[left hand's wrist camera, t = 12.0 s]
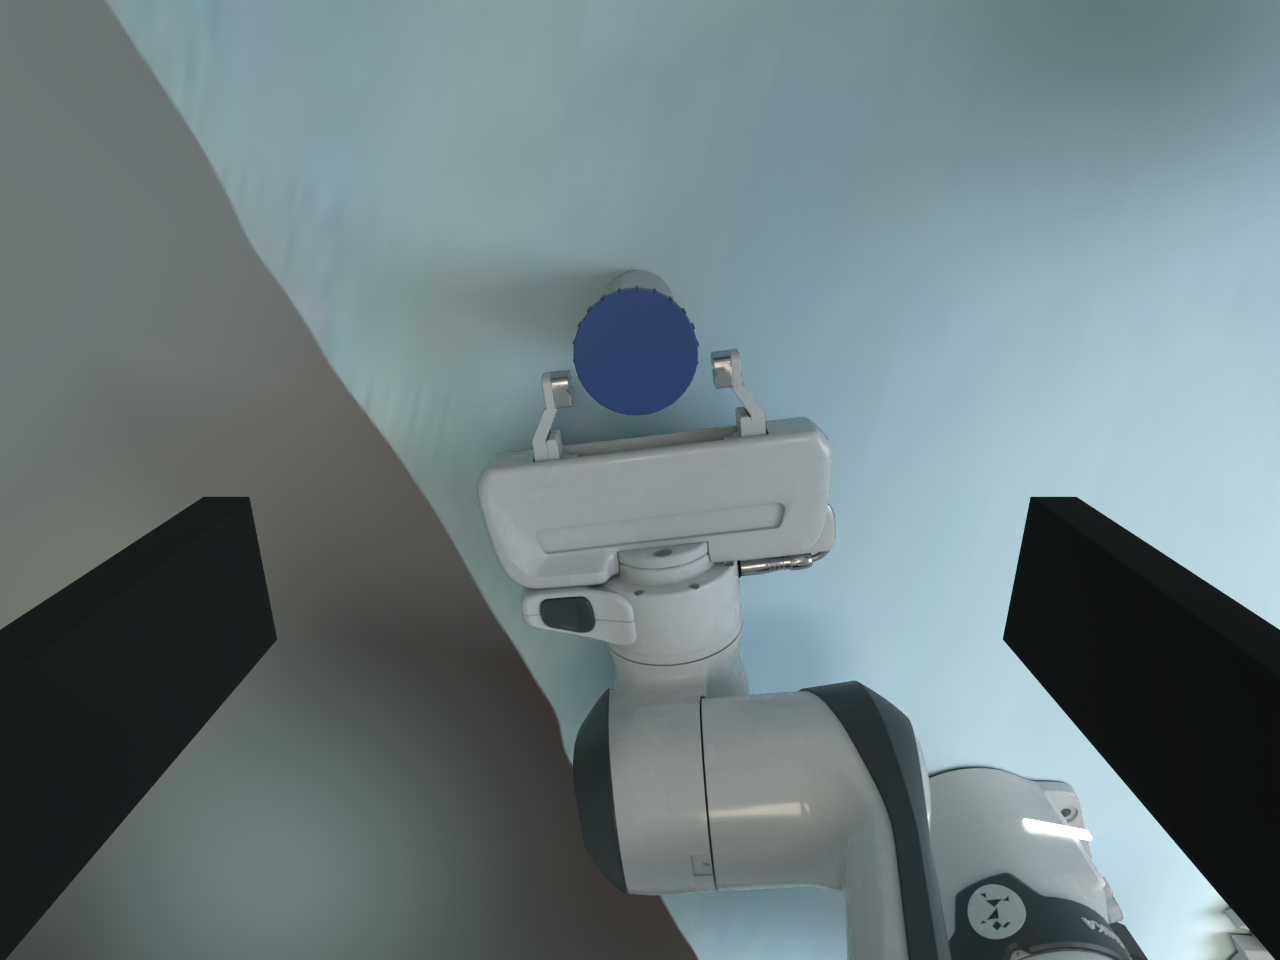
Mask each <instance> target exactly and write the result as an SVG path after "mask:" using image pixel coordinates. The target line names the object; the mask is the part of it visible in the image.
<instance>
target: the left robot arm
mask: <svg viewBox="0 0 1280 960" xmlns="http://www.w3.org/2000/svg"><path fill="white" fill-rule="evenodd" d="M276 640H277V636H276V631H275V626H274V621H273V616H272V611H271V606H270V601H269V595H268V590H267V585H266V580H265V575H264V570H263V565H262V560H261V555H260V549H259V544H258V539H257V534H256V529H255V524H254V519H253V514H252V509H251V503H250V498H249V497H203V498H201V499H200V500H198V501H197V502H195V503H194V504H192V505H191V506H189V507H188V508H186V509H184V510H183V511H181V512H180V513H178V514H177V515H175V516H174V517H172V518H171V519H169V520H168V521H166V522H165V523H163V524H161V525H160V526H158V527H157V528H155V529H154V530H152V531H151V532H149V533H148V534H146V535H145V536H143V537H142V538H140V539H139V540H137V541H135V542H134V543H132V544H131V545H129V546H128V547H126V548H125V549H123V550H122V551H120V552H119V553H117V554H116V555H114V556H113V557H111V558H109V559H108V560H106V561H105V562H103V563H102V564H100V565H99V566H97V567H96V568H94V569H93V570H91V571H90V572H88V573H87V574H85V575H84V576H82V577H80V578H79V579H77V580H76V581H74V582H73V583H71V584H70V585H68V586H67V587H65V588H64V589H62V590H61V591H59V592H58V593H56V594H54V595H53V596H51V597H50V598H48V599H47V600H45V601H44V602H42V603H41V604H39V605H38V606H36V607H35V608H33V609H31V610H30V611H28V612H27V613H25V614H24V615H22V616H21V617H19V618H18V619H16V620H15V621H13V622H12V623H10V624H8V625H7V626H5V627H4V628H2V629H1V630H0V960H5V959H6V958H7V957H8V956H9V955H10V953H11V952H12V951H13V950H14V949H15V948H16V946H17V945H18V944H19V943H20V942H21V940H22V939H23V938H24V937H25V936H26V935H27V933H28V932H29V931H30V930H31V929H32V927H33V926H34V925H35V924H36V923H37V922H38V920H39V919H40V918H41V917H42V916H43V914H44V913H45V912H46V911H47V910H48V909H49V907H50V906H51V905H52V904H53V903H54V901H55V900H56V899H57V898H58V897H59V896H60V894H61V893H62V892H63V891H64V890H65V889H66V887H67V886H68V885H69V884H70V883H71V881H72V880H73V879H74V878H75V877H76V876H77V874H78V873H79V872H80V871H81V870H82V868H83V867H84V866H85V865H86V864H87V863H88V861H89V860H90V859H91V858H92V857H93V856H94V854H95V853H96V852H97V851H98V850H99V848H100V847H101V846H102V845H103V844H104V843H105V841H106V840H107V839H108V838H109V837H110V836H111V834H112V833H113V832H114V831H115V830H116V828H117V827H118V826H119V825H120V824H121V823H122V821H123V820H124V819H125V818H126V817H127V816H128V814H129V813H130V812H131V811H132V810H133V808H134V807H135V806H136V805H137V804H138V802H139V801H140V800H141V799H142V798H143V797H144V795H145V794H146V793H147V792H148V791H149V790H150V788H151V787H152V786H153V785H154V784H155V782H156V781H157V780H158V779H159V778H160V777H161V775H162V774H163V773H164V772H165V771H166V770H167V768H168V767H169V766H170V765H171V764H172V762H173V761H174V760H175V759H176V758H177V757H178V755H179V754H180V753H181V752H182V751H183V749H184V748H185V747H186V746H187V745H188V744H189V742H190V741H191V740H192V739H193V738H194V737H195V735H196V734H197V733H198V732H199V731H200V730H201V728H202V727H203V726H204V725H205V724H206V722H207V721H208V720H209V719H210V718H211V717H212V715H213V714H214V713H215V712H216V711H217V709H218V708H219V707H220V706H221V705H222V703H223V702H224V701H225V700H226V699H227V698H228V697H229V695H230V694H231V693H232V692H233V691H234V689H235V688H236V687H237V686H238V685H239V684H240V682H241V681H242V680H243V679H244V678H245V676H246V675H247V674H248V673H249V672H250V670H251V669H252V668H253V667H254V666H255V665H256V664H257V662H258V661H259V660H260V659H261V658H262V656H263V655H264V654H265V653H266V652H267V651H268V649H269V648H270V647H271V646H272V645H273V643H274V642H275V641H276ZM1003 640H1004V641H1005V642H1006V644H1007V645H1008V646H1009V647H1010V648H1011V649H1012V651H1013V652H1014V653H1015V654H1016V655H1017V656H1018V658H1019V659H1020V660H1021V661H1022V662H1023V664H1024V665H1025V666H1026V667H1027V668H1028V669H1029V671H1030V672H1031V673H1032V674H1033V675H1034V677H1035V678H1036V679H1037V680H1038V681H1039V682H1040V684H1041V685H1042V686H1043V687H1044V688H1045V689H1046V691H1047V692H1048V693H1049V694H1050V695H1051V697H1052V698H1053V699H1054V700H1055V701H1056V702H1057V704H1058V705H1059V706H1060V707H1061V708H1062V710H1063V711H1064V712H1065V713H1066V714H1067V715H1068V717H1069V718H1070V719H1071V720H1072V721H1073V722H1074V724H1075V725H1076V726H1077V727H1078V728H1079V730H1080V731H1081V732H1082V733H1083V734H1084V735H1085V737H1086V738H1087V739H1088V740H1089V741H1090V742H1091V744H1092V745H1093V746H1094V747H1095V748H1096V750H1097V751H1098V752H1099V753H1100V754H1101V755H1102V757H1103V758H1104V759H1105V760H1106V761H1107V763H1108V764H1109V765H1110V766H1111V767H1112V768H1113V770H1114V771H1115V772H1116V773H1117V774H1118V775H1119V777H1120V778H1121V779H1122V780H1123V781H1124V783H1125V784H1126V785H1127V786H1128V787H1129V788H1130V790H1131V791H1132V792H1133V793H1134V794H1135V796H1136V797H1137V798H1138V799H1139V800H1140V801H1141V803H1142V804H1143V805H1144V806H1145V807H1146V808H1147V810H1148V811H1149V812H1150V813H1151V814H1152V816H1153V817H1154V818H1155V819H1156V820H1157V821H1158V823H1159V824H1160V825H1161V826H1162V827H1163V829H1164V830H1165V831H1166V832H1167V833H1168V834H1169V836H1170V837H1171V838H1172V839H1173V840H1174V841H1175V843H1176V844H1177V845H1178V846H1179V847H1180V849H1181V850H1182V851H1183V852H1184V853H1185V854H1186V856H1187V857H1188V858H1189V859H1190V860H1191V862H1192V863H1193V864H1194V865H1195V866H1196V867H1197V869H1198V870H1199V871H1200V872H1201V873H1202V874H1203V876H1204V877H1205V878H1206V879H1207V880H1208V882H1209V883H1210V884H1211V885H1212V886H1213V887H1214V889H1215V890H1216V891H1217V892H1218V893H1219V895H1220V896H1221V897H1222V898H1223V899H1224V900H1225V902H1226V903H1227V904H1228V905H1229V906H1230V907H1231V909H1232V910H1233V911H1234V912H1235V913H1236V915H1237V916H1238V917H1239V918H1240V919H1241V920H1242V922H1243V923H1244V924H1245V925H1246V926H1247V928H1248V929H1249V930H1250V931H1251V932H1252V933H1253V935H1254V936H1255V937H1256V938H1257V939H1258V940H1259V942H1260V943H1261V944H1262V945H1263V946H1264V948H1265V949H1266V950H1267V951H1268V952H1269V953H1270V955H1271V956H1272V957H1273V958H1274V959H1275V960H1280V630H1279V629H1278V628H1276V627H1275V626H1273V625H1271V624H1270V623H1268V622H1267V621H1265V620H1264V619H1262V618H1261V617H1259V616H1258V615H1256V614H1255V613H1253V612H1252V611H1250V610H1249V609H1247V608H1245V607H1244V606H1242V605H1241V604H1239V603H1238V602H1236V601H1235V600H1233V599H1232V598H1230V597H1229V596H1227V595H1226V594H1224V593H1223V592H1221V591H1219V590H1218V589H1216V588H1215V587H1213V586H1212V585H1210V584H1209V583H1207V582H1206V581H1204V580H1203V579H1201V578H1200V577H1198V576H1197V575H1195V574H1193V573H1192V572H1190V571H1189V570H1187V569H1186V568H1184V567H1183V566H1181V565H1180V564H1178V563H1177V562H1175V561H1174V560H1172V559H1171V558H1169V557H1167V556H1166V555H1164V554H1163V553H1161V552H1160V551H1158V550H1157V549H1155V548H1154V547H1152V546H1151V545H1149V544H1148V543H1146V542H1145V541H1143V540H1141V539H1140V538H1138V537H1137V536H1135V535H1134V534H1132V533H1131V532H1129V531H1128V530H1126V529H1125V528H1123V527H1122V526H1120V525H1119V524H1117V523H1115V522H1114V521H1112V520H1111V519H1109V518H1108V517H1106V516H1105V515H1103V514H1102V513H1100V512H1099V511H1097V510H1096V509H1094V508H1093V507H1091V506H1089V505H1088V504H1086V503H1085V502H1083V501H1082V500H1080V499H1079V498H1077V497H1031V498H1030V503H1029V508H1028V513H1027V519H1026V524H1025V529H1024V534H1023V539H1022V544H1021V549H1020V554H1019V560H1018V565H1017V570H1016V575H1015V580H1014V585H1013V590H1012V595H1011V600H1010V606H1009V611H1008V616H1007V621H1006V626H1005V631H1004V636H1003Z"/></svg>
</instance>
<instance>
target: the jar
mask: <svg viewBox="0 0 1280 960" xmlns="http://www.w3.org/2000/svg"><path fill="white" fill-rule="evenodd" d="M636 285H637V286H638V287H639V288H647V289H652V290H653V289H654V288H655V289H656V291H658V292H660V293H662V294H664V295H666V296H668V297H669V296H671V297H672V294H671V292H670V290H669V288H668V286H667V285H666V283H665V282H664V281H663V280H662V279H661V278H660V277H658V276H657V275H655V274H653V273H651V272H648V271H644V270H632V271H628V272H625V273H623V274H621V275H619V276H618V277H616V278H615V279H614V280H613V281H612V282H611V283H610V284H609V286H608V287H607V289H606V291H605V294H604V295H605V296H606V295H608V294H610V293H612V292H614V291H617V290H618V288H621V289H625V288H633V287H636ZM672 299H673V297H672ZM673 301H674V300H673Z"/></svg>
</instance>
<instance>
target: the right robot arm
mask: <svg viewBox="0 0 1280 960" xmlns="http://www.w3.org/2000/svg"><path fill="white" fill-rule="evenodd" d="M711 363H712V365H713V367H714V368H713V370H712V375H713V382H714V384H715V387H716V388H726V387H731V389H732V390H733V392H734V393H735V394H736V396H737V397H738V399H739V400H740V401H741V403H742V404H743V406H744V407H745V408H746V409H745V408H744V407H738V408H737V409H736V422H737V425H732V426H723V427H715V428H707V429H698V430H690V431H682V432H673V433H665V434H656V435H648V436H640V437H631V438H623V439H615V440H606V441H598V442H590V443H581V444H573V445H564V446H563V444H562V439H561V433H560V430H558V429H556V430H552V431H551V432H550V428H551V425H552V423H553V420H554V418H555V415H556V412H557V410H558V408H562V407H569V406H572V404H573V401H574V392H573V387H572V386H571V385H570V382H571V380H572V379H571V374H570V371H569V370H564V371H555V372H547V373H544V374H543V375H542V389H543V394H544V400H545V406H546V407H545V409H544V411H543V414H542V416H541V419H540V422H539V424H538V427H537V429H536V432H535V435H534V437H533V440H532V446H533V449H531V450H523V451H515V452H506V453H499V454H496V455H495V456H493V457H492V458H491V460H490V461H489V462H488V464H487V465H486V466H485V468H484V469H483V471H482V473H481V475H480V477H479V480H478V483H477V494H478V499H479V503H480V507H481V511H482V515H483V519H484V522H485V525H486V529H487V532H488V535H489V538H490V541H491V543H492V546H493V549H494V551H495V554H496V556H497V559H498V561H499V563H500V565H501V567H502V569H503V570H504V572H505V573H506V574H507V576H508V577H509V578H510V579H511V580H513V581H514V582H515V583H517V584H519V585H521V586H523V589H522V597H521V611H522V616H523V619H524V621H525V622H526V624H528V625H529V626H531V627H534V628H537V629H542V630H548V631H555V632H561V633H567V634H572V635H578V636H582V637H587V638H592V639H596V640H600V641H604V642H605V643H606V646H607V648H608V650H609V652H610V654H611V656H612V659H613V661H614V665H615V678H614V684H613V688H612V689H608V690H606V691H605V693H604V694H603V695H602V696H601V697H600V698H599V700H598V701H597V702H596V704H595V705H594V707H593V709H592V710H591V712H590V713H589V715H588V716H587V718H586V719H585V721H584V722H583V724H582V725H581V727H580V730H579V732H578V735H577V738H576V742H575V747H574V757H573V775H574V785H575V793H576V800H577V806H578V811H579V817H580V823H581V828H582V833H583V838H584V843H585V848H586V851H587V852H588V854H589V855H590V856H591V858H592V859H593V861H594V862H595V863H596V865H597V866H598V867H599V869H600V870H601V871H602V872H603V874H604V875H605V876H606V877H607V878H608V879H609V880H610V881H611V882H612V883H613V884H614V885H615V886H616V887H617V888H619V889H620V890H621V891H623V892H624V893H626V894H627V895H629V894H639V895H673V894H695V893H714V892H717V889H718V891H731V890H753V889H775V888H797V887H814V888H822V889H827V890H831V891H834V892H837V893H840V894H842V895H844V896H845V899H846V930H847V960H1148V959H1147V958H1146V956H1145V955H1144V953H1143V952H1142V950H1141V949H1140V947H1139V946H1138V944H1137V943H1136V941H1135V940H1134V938H1133V937H1132V935H1131V934H1130V932H1129V931H1128V929H1127V928H1126V926H1125V925H1123V924H1120V923H1118V922H1119V921H1122V919H1123V914H1122V912H1121V909H1120V907H1119V905H1118V903H1117V901H1116V900H1115V898H1114V896H1113V892H1112V890H1111V888H1110V886H1109V884H1108V882H1107V881H1106V879H1105V878H1104V877H1102V875H1101V874H1100V872H1099V870H1098V869H1097V867H1096V866H1095V864H1094V863H1093V861H1092V857H1091V853H1090V848H1089V844H1088V841H1091V840H1092V836H1091V835H1090V834H1089V832H1088V831H1087V830H1085V826H1084V821H1083V817H1082V812H1081V808H1080V803H1079V799H1078V797H1077V795H1076V793H1075V792H1074V790H1073V788H1072V787H1071V786H1070V785H1068V784H1066V783H1062V782H1045V781H1043V782H1035V781H1031V780H1028V779H1025V778H1022V777H1020V776H1017V775H1015V774H1012V773H1009V772H1006V771H1002V770H996V769H989V768H968V769H960V770H954V771H950V772H946V773H943V774H939V775H937V776H934V777H931V778H929V777H928V771H927V766H926V762H925V758H924V755H923V751H922V748H921V746H920V743H919V741H918V738H917V736H916V734H915V732H914V731H913V728H912V725H911V722H910V720H909V718H908V717H907V716H905V715H904V714H903V713H902V712H901V711H900V710H899V709H898V708H896V707H895V706H894V705H893V704H891V703H890V702H889V701H887V700H886V699H885V698H883V697H882V696H880V695H879V694H877V693H876V692H874V691H873V690H871V689H869V688H868V687H866V686H864V685H863V684H861V683H859V682H857V681H849V682H843V683H837V684H830V685H824V686H818V687H811V688H805V689H801V690H799V691H798V692H783V693H769V694H755V695H749V686H748V677H747V673H746V670H745V667H744V665H743V663H742V660H741V658H740V654H739V646H740V641H741V638H742V633H743V619H742V607H741V596H740V583H739V578H740V576H749V575H757V574H765V573H770V572H774V571H778V570H787V569H790V570H801V569H806V568H809V567H812V564H813V562H814V561H817V560H819V559H821V558H823V557H824V556H825V555H827V553H828V552H829V551H830V550H831V549H832V548H833V546H834V543H835V537H836V536H835V515H834V512H833V509H832V508H831V506H830V505H829V504H828V501H829V492H830V482H831V463H832V451H831V444H830V441H829V439H828V437H827V436H826V434H825V433H824V432H823V431H822V430H821V429H820V428H819V427H818V426H817V425H816V424H815V423H814V422H812V421H811V420H810V419H808V418H806V417H799V418H790V419H782V420H774V421H765V414H764V412H763V410H762V409H761V407H760V405H759V404H758V402H757V401H756V400H755V398H754V397H753V395H752V394H751V393H750V391H749V390H748V388H747V387H746V386H745V384H744V383H743V381H742V375H741V362H740V355H739V352H738V350H737V349H732V350H724V351H717V352H711ZM815 552H818V553H816V554H814V555H811V553H815Z"/></svg>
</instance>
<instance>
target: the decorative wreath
mask: <svg viewBox="0 0 1280 960" xmlns="http://www.w3.org/2000/svg"><path fill="white" fill-rule="evenodd" d="M1224 913H1225V914H1226V916H1227V917H1228V918H1229V919H1230V920H1231V922H1232V923H1233V924H1234V925H1235V926H1236V928H1241V929H1246V930H1249V929H1248V928H1247V926H1246V925H1245V924H1244V923H1243V922H1242V920H1241V919H1240V918H1239V917H1238V916H1237V915H1236V913H1235V912H1234V911H1233V910H1232V909H1229V910H1227V911H1225V912H1224ZM1230 935H1231V937H1232V939H1233V941H1234V944H1235V946H1236V948H1237V950H1238V953H1237V954H1236V955H1235V956H1234V957H1233V958H1232V959H1231V960H1275V959H1274V958H1273V957H1272V956H1271V955H1270V953H1269V952H1268V951H1267V950H1266V949H1265V948H1264V946H1263V945H1262V944H1261V943H1260V942H1259V940H1258V939H1257V938H1256V937H1255V936H1254V935H1253V933H1252V935H1253V936H1246V935H1233V934H1230Z"/></svg>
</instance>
